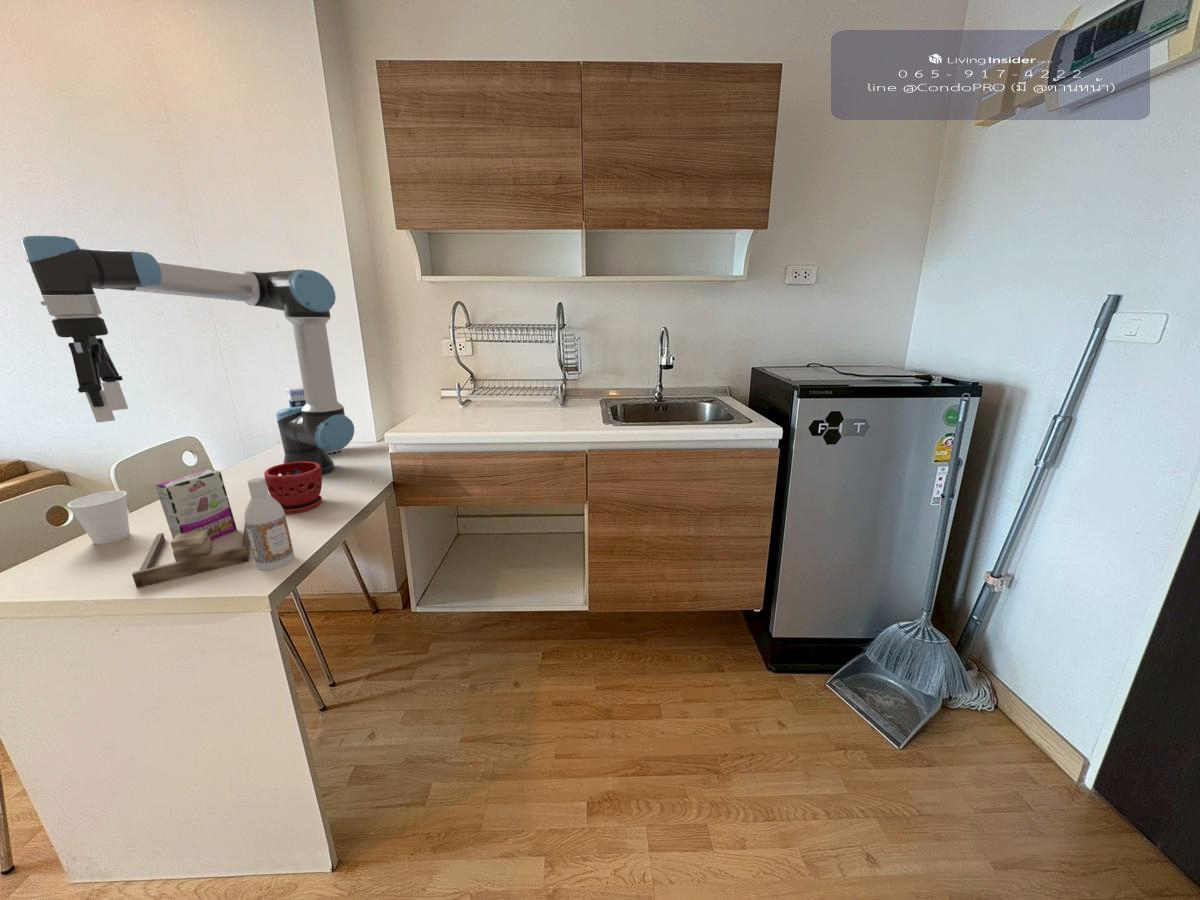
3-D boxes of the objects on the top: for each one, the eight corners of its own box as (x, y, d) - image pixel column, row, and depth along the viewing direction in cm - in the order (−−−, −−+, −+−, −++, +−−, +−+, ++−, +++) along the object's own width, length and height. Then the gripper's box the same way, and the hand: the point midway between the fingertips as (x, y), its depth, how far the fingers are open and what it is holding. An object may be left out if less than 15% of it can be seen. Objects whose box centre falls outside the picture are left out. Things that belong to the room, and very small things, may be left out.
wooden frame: (252, 524, 121) (249, 510, 120) (249, 564, 102) (245, 548, 101) (160, 543, 111) (155, 528, 110) (138, 591, 92) (131, 574, 91)
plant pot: (280, 522, 122) (270, 479, 118) (267, 508, 130) (257, 468, 127) (334, 506, 131) (326, 466, 127) (318, 494, 139) (310, 457, 136)
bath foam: (268, 577, 97) (246, 488, 91) (250, 568, 100) (228, 482, 94) (302, 561, 103) (283, 477, 97) (284, 554, 106) (265, 472, 100)
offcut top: (208, 537, 103) (206, 529, 102) (202, 545, 99) (200, 537, 99) (179, 542, 101) (177, 534, 100) (173, 551, 97) (170, 542, 96)
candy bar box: (225, 528, 118) (208, 468, 113) (238, 531, 117) (222, 470, 112) (173, 549, 108) (153, 484, 103) (187, 553, 107) (167, 486, 102)
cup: (114, 530, 118) (99, 490, 114) (151, 530, 117) (138, 490, 114) (70, 550, 108) (53, 507, 105) (111, 550, 108) (95, 507, 105)
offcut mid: (212, 546, 104) (209, 536, 103) (210, 555, 100) (207, 544, 99) (179, 553, 101) (176, 543, 100) (176, 562, 97) (172, 552, 97)
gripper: (69, 316, 105) (103, 407, 111) (28, 319, 85) (72, 430, 92) (115, 314, 109) (145, 403, 116) (86, 317, 89) (124, 423, 96)
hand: (113, 415), depth 104 cm, fingers open, 13 cm apart
